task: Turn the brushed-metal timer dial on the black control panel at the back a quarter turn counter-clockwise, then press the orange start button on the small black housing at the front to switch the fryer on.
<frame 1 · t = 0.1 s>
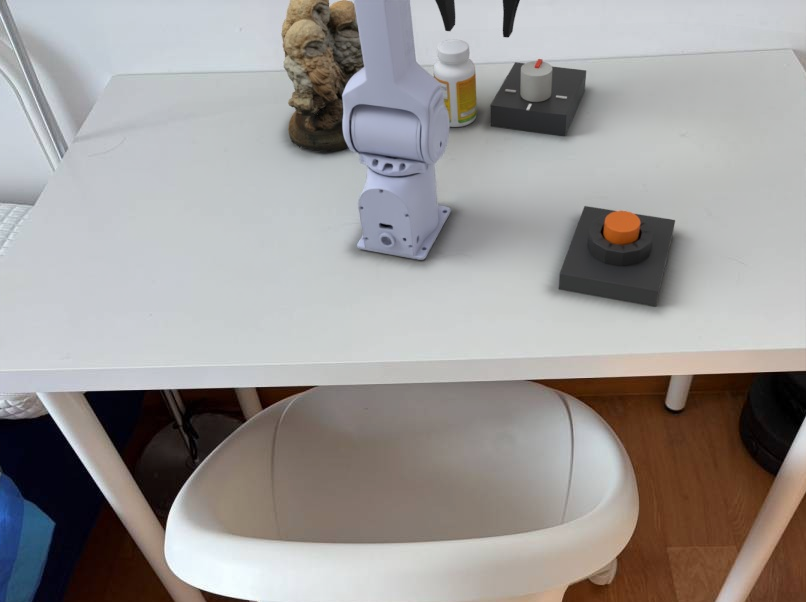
hand: (478, 30, 100), 10 cm above the table, tool pointing down, fingers open, 7 cm apart
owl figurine: (339, 123, 106), on the table
timer panel: (538, 108, 106), on the table
timer dial: (536, 80, 101), point 5 cm above the table, hinge at 0.0°
start button: (621, 228, 81), point 4 cm above the table, slide at 0.1 cm
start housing: (617, 262, 84), on the table
supplement bottle: (456, 118, 106), on the table
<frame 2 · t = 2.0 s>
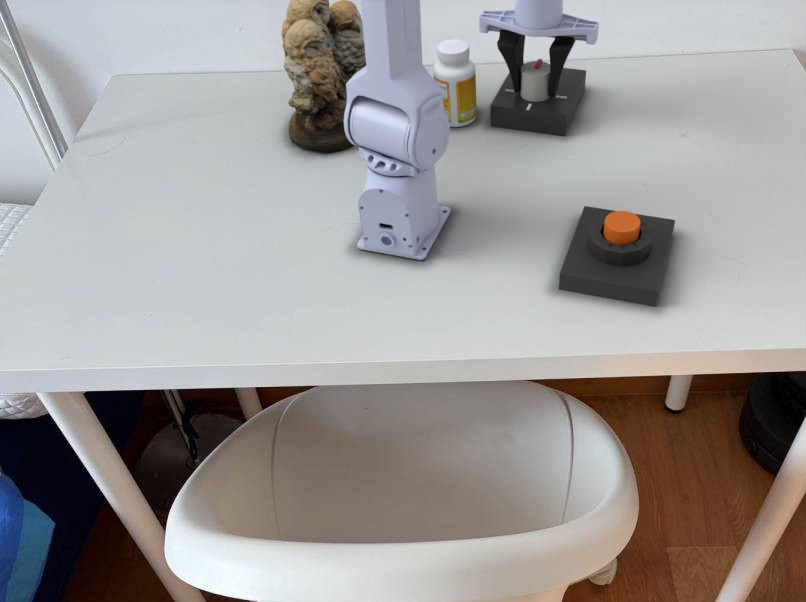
hand: (536, 90, 102), 4 cm above the table, tool pointing down, fingers closed on timer dial, 4 cm apart
timer dial: (536, 80, 101), point 5 cm above the table, hinge at 0.1°, touching gripper
everything else where it was.
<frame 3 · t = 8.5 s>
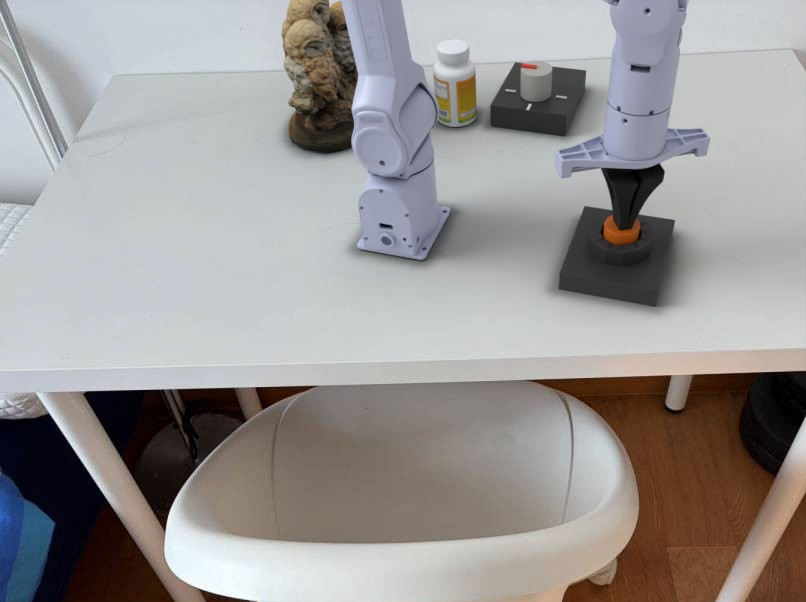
hand: (622, 224, 81), 5 cm above the table, tool pointing down, fingers closed, pressing on start button
timer dial: (536, 80, 101), point 5 cm above the table, hinge at 89.6°
start button: (621, 230, 81), point 4 cm above the table, slide at -0.2 cm, touching gripper
everything else where it was.
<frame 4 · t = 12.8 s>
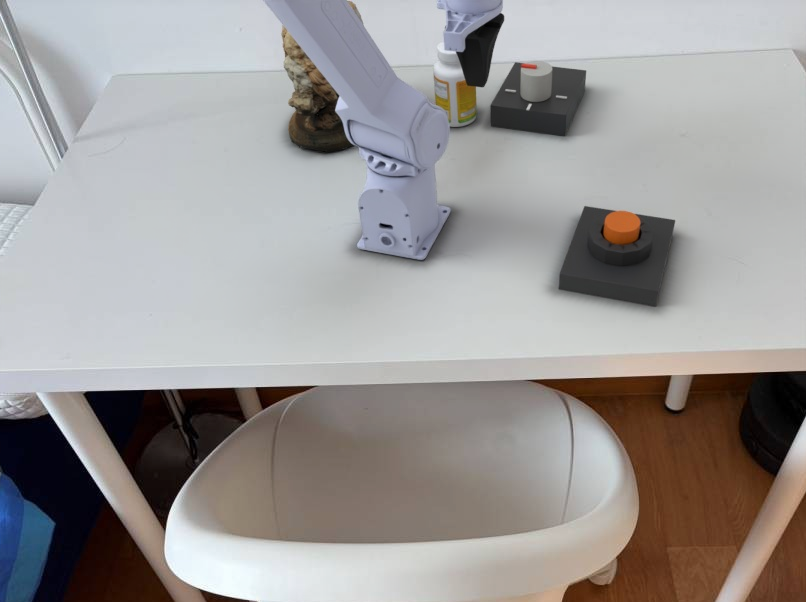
hand: (477, 83, 90), 10 cm above the table, tool pointing down, fingers closed
start button: (621, 228, 81), point 4 cm above the table, slide at 0.1 cm
everything else where it was.
at the end: timer dial at +90° (first picture: +0°); start button pushed in 1.2 cm at the most during the clip, back to where it started at the end; start button slide at 0.1 cm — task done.
